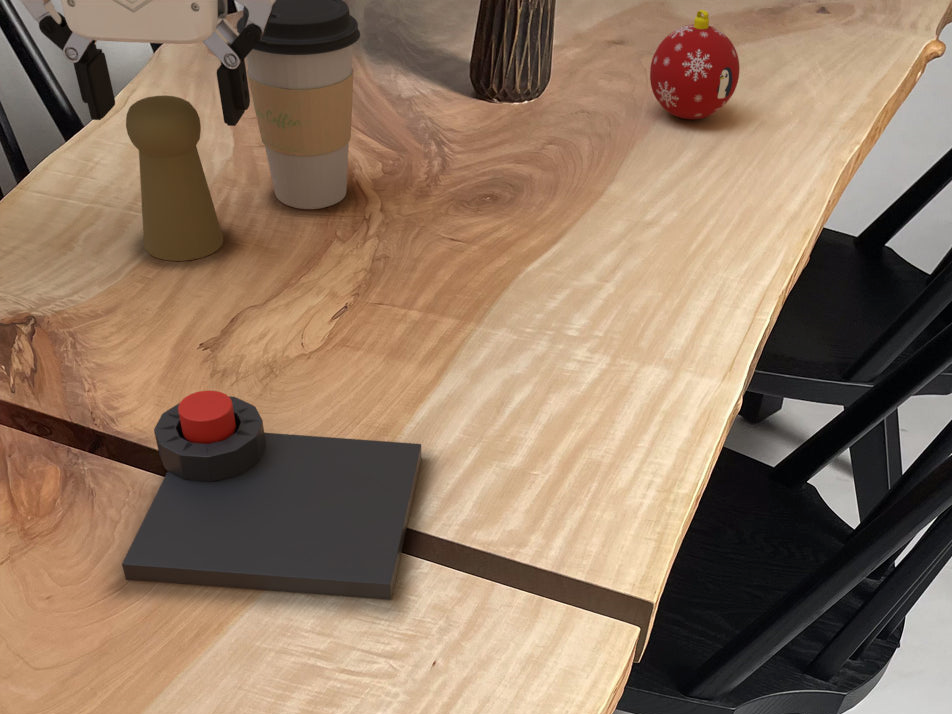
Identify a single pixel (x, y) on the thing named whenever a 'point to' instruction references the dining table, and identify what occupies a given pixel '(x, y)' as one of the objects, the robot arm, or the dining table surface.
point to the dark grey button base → (276, 511)
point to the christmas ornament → (694, 70)
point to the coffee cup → (305, 98)
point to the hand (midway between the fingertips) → (169, 115)
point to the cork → (172, 180)
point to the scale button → (207, 417)
